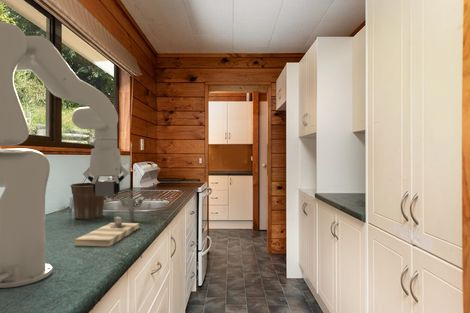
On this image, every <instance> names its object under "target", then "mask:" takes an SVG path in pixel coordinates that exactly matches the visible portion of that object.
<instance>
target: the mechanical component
mask: <svg viewBox="0 0 470 313" xmlns="http://www.w3.org/2000/svg"><path fill="white" fill-rule="evenodd" d="M120 203H121V206H122V208H128V211H129V222H134V219H135V218H134V217H135V216H134V212H135V209H136V208H138V209H139V208H140V207H142V204H143V199H141V198H139V199H137V201H136V198H133V197H132V198H127V197H125V198H121V199H120Z"/></svg>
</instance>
